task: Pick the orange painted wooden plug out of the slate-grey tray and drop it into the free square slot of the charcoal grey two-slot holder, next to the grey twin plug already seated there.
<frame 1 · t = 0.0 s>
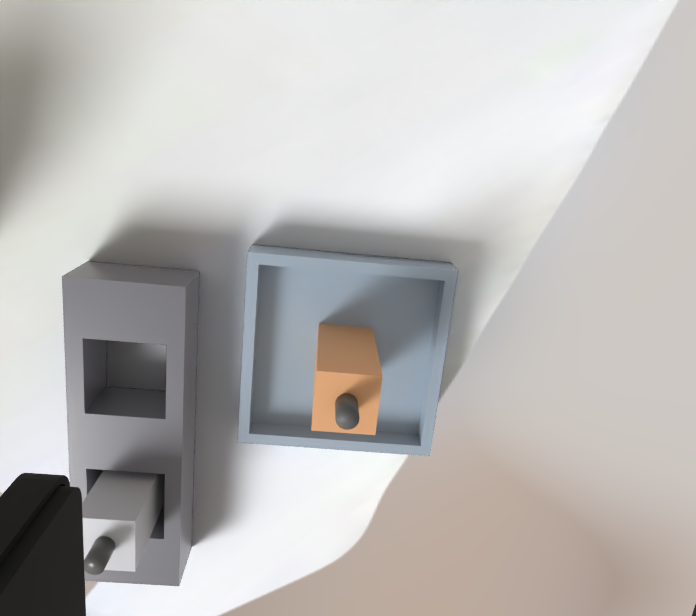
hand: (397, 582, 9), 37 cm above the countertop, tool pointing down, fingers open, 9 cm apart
tray: (342, 347, 47), on the countertop
twin plug: (143, 471, 50), resting in grey two-slot holder
plug: (343, 350, 46), point 1 cm above the countertop, touching tray
grey two-slot holder: (143, 415, 48), on the countertop
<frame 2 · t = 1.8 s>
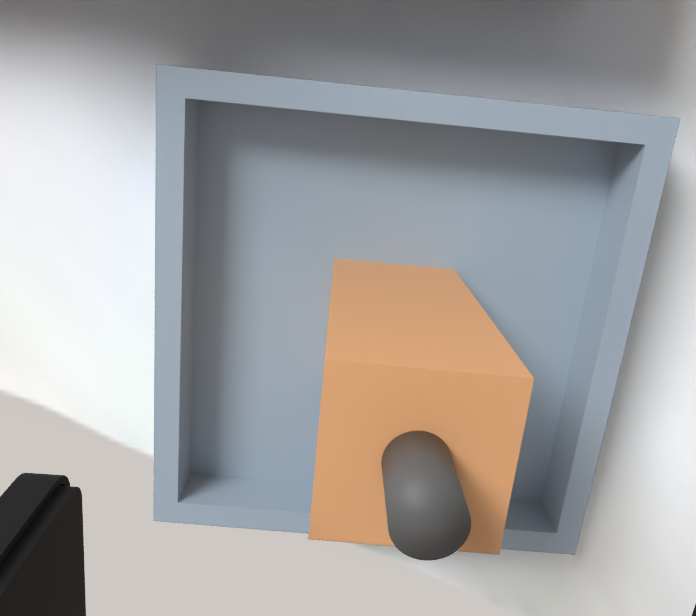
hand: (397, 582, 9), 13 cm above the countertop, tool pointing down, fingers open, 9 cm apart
tray: (385, 314, 22), on the countertop
plug: (387, 321, 21), point 1 cm above the countertop, touching tray
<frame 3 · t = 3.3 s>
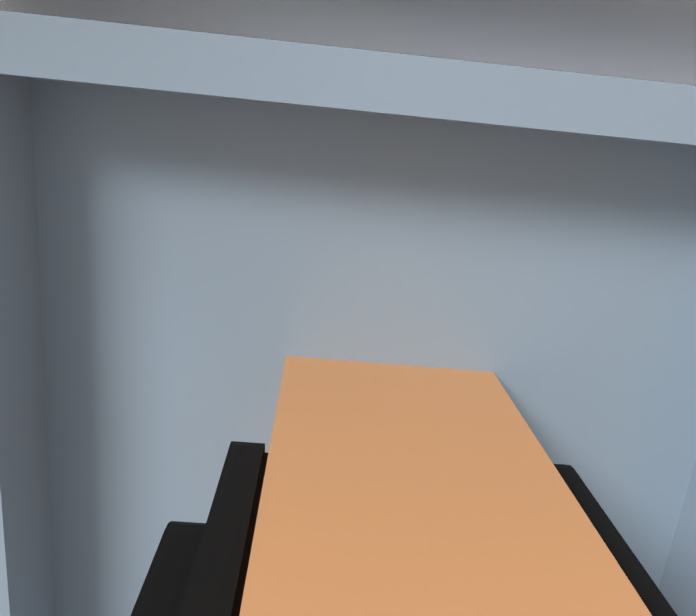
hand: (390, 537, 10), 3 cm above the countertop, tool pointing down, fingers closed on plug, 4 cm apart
tray: (375, 436, 13), on the countertop
plug: (379, 456, 12), point 1 cm above the countertop, touching gripper, tray
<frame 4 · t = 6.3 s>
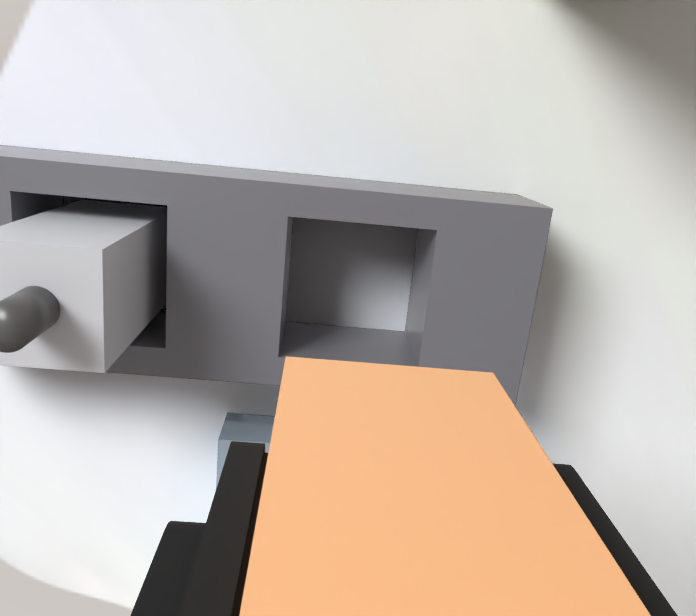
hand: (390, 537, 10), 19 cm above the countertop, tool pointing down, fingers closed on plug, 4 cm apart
tray: (361, 548, 32), on the countertop
twin plug: (128, 249, 27), resting in grey two-slot holder
plug: (378, 456, 12), point 16 cm above the countertop, touching gripper
grey two-slot holder: (241, 258, 28), on the countertop
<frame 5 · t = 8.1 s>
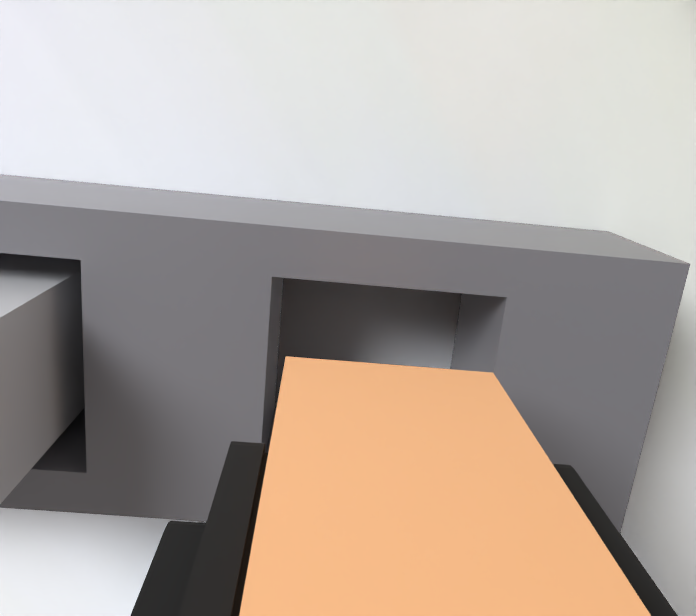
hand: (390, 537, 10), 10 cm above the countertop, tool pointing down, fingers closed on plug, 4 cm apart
twin plug: (48, 308, 19), resting in grey two-slot holder
plug: (378, 456, 12), point 8 cm above the countertop, touching gripper
grey two-slot holder: (210, 322, 19), on the countertop
when the fingers open (6 cm above the countertop, at t = 9.5 s): plug drops 3 cm, resting in grey two-slot holder.
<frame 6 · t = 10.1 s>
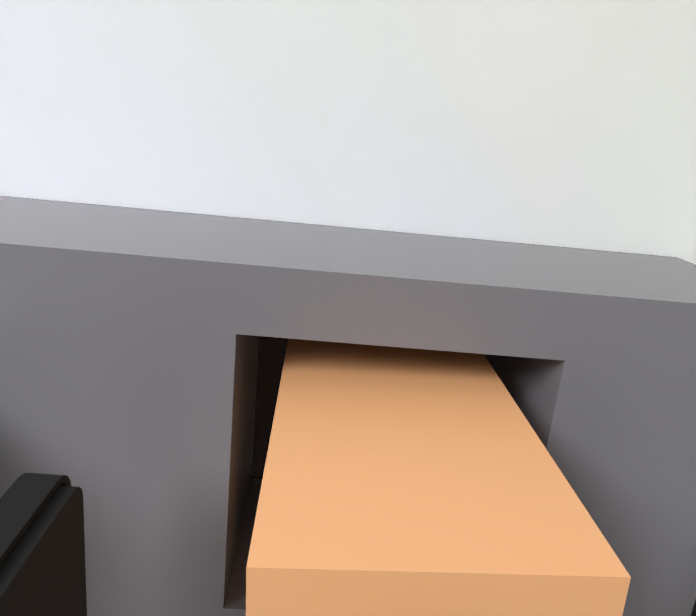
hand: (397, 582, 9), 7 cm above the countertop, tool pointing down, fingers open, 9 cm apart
plug: (370, 387, 16), resting in grey two-slot holder
grey two-slot holder: (167, 373, 15), on the countertop
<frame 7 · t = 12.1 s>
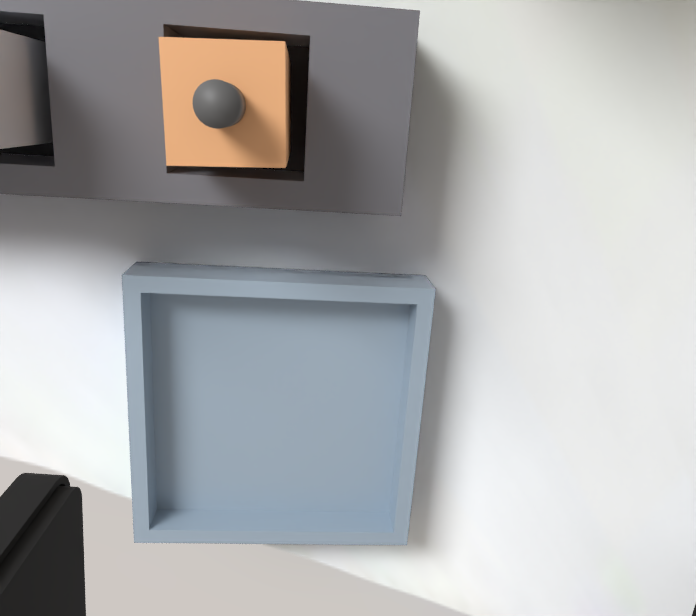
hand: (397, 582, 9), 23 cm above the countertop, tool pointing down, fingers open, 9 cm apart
tray: (279, 399, 33), on the countertop
twin plug: (24, 91, 28), resting in grey two-slot holder
plug: (247, 106, 29), resting in grey two-slot holder
grey two-slot holder: (137, 99, 28), on the countertop
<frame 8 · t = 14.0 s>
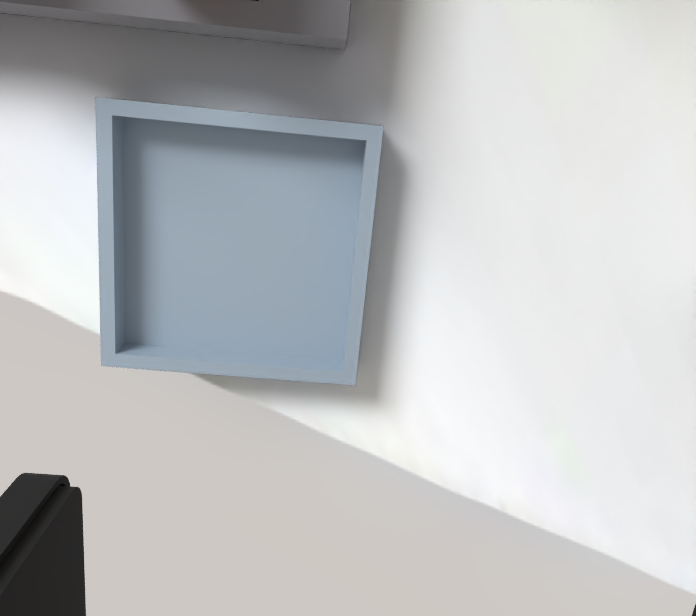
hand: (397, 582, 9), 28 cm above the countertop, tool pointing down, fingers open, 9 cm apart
tray: (241, 242, 36), on the countertop
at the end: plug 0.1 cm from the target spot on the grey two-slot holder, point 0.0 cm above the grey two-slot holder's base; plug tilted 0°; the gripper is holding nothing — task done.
